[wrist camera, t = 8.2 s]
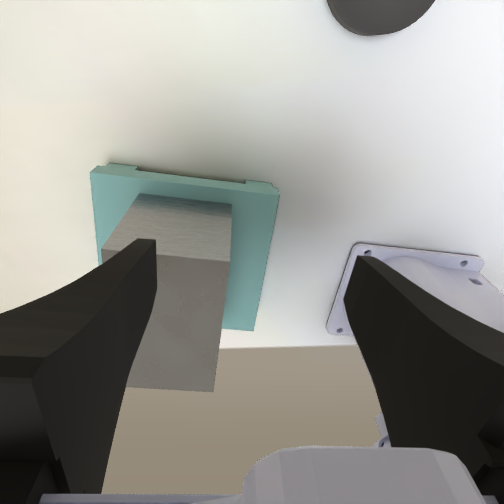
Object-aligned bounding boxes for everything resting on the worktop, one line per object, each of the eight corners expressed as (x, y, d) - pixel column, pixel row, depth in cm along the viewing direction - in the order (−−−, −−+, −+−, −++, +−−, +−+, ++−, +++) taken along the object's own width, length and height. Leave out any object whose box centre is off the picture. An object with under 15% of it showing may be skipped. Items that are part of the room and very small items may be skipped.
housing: (217, 326, 23) (211, 404, 18) (142, 320, 23) (114, 399, 18) (232, 203, 19) (230, 261, 14) (139, 193, 18) (100, 248, 13)
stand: (275, 180, 21) (279, 195, 19) (252, 307, 26) (253, 331, 24) (105, 158, 20) (89, 172, 18) (115, 295, 25) (104, 319, 23)
